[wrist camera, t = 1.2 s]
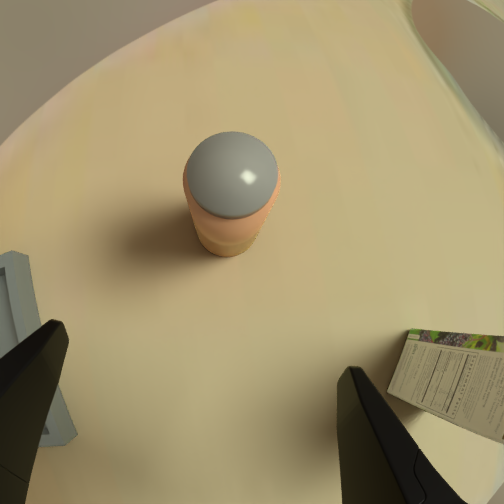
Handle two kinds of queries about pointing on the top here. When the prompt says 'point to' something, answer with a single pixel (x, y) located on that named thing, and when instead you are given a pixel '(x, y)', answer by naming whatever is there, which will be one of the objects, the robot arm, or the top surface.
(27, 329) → the tray
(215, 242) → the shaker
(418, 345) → the syrup box
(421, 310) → the top surface
